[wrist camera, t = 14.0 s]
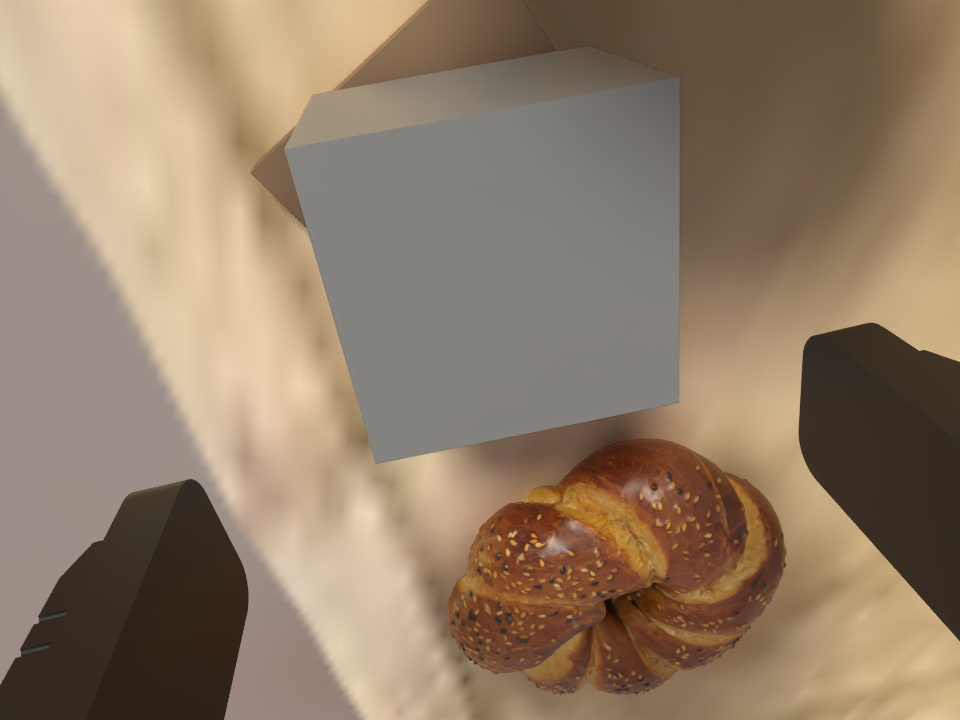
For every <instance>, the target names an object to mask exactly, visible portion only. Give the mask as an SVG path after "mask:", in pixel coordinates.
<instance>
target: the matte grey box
mask: <svg viewBox="0 0 960 720" xmlns="http://www.w3.org/2000/svg"><path fill="white" fill-rule="evenodd" d="M284 150H285V154H286V157H287V160H288V164H289V167H290V171H291V174H292V178H293V181H294V185H295V188H296V191H297V195H298V198H299V202H300V205H301V209H302V212H303V215H304V219H305V222H306V226H307V229H308V233H309V236H310V239H311V243H312V246H313V250H314V253H315V257H316V260H317V264H318V267H319V270H320V274H321V277H322V281H323V284H324V288H325V291H326V294H327V298H328V301H329V305H330V308H331V312H332V315H333V319H334V322H335V325H336V329H337V332H338V336H339V339H340V343H341V346H342V349H343V353H344V356H345V360H346V363H347V367H348V370H349V374H350V377H351V380H352V384H353V387H354V391H355V394H356V398H357V401H358V404H359V408H360V411H361V415H362V418H363V422H364V425H365V429H366V432H367V435H368V439H369V442H370V446H371V449H372V453H373V456H374V459H375V463H376V464H379V463H384V462H389V461H394V460H399V459H404V458H408V457H413V456H418V455H423V454H428V453H433V452H438V451H443V450H448V449H453V448H458V447H463V446H468V445H473V444H478V443H483V442H488V441H493V440H498V439H503V438H508V437H513V436H517V435H522V434H527V433H532V432H537V431H542V430H547V429H552V428H557V427H562V426H567V425H572V424H577V423H582V422H587V421H592V420H597V419H602V418H607V417H612V416H617V415H621V414H626V413H631V412H636V411H641V410H646V409H651V408H656V407H661V406H666V405H671V404H676V403H679V230H680V77H679V76H676V75H673V74H670V73H667V72H664V71H661V70H658V69H655V68H652V67H649V66H646V65H643V64H640V63H637V62H634V61H631V60H628V59H625V58H622V57H619V56H616V55H613V54H610V53H607V52H605V51H602V50H599V49H596V48H593V47H590V46H583V47H577V48H572V49H566V50H560V51H555V52H549V53H544V54H538V55H532V56H527V57H521V58H515V59H510V60H504V61H499V62H493V63H487V64H482V65H476V66H471V67H465V68H459V69H454V70H448V71H443V72H437V73H431V74H426V75H420V76H414V77H409V78H403V79H398V80H392V81H386V82H381V83H375V84H370V85H364V86H358V87H353V88H347V89H342V90H336V91H330V92H325V93H319V94H313V95H312V97H311V99H310V100H309V102H308V104H307V106H306V108H305V110H304V112H303V114H302V116H301V118H300V120H299V121H298V123H297V125H296V127H295V129H294V131H293V133H292V135H291V137H290V139H289V141H288V142H287V144H286V146H285V148H284Z"/></svg>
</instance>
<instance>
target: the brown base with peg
mask: <svg viewBox="0 0 960 720" xmlns="http://www.w3.org/2000/svg"><path fill="white" fill-rule="evenodd" d="M555 51H556V50H555V48H554V47H553V45H552V44H551V42H550V41H549V39H548V38H547V36H546V35H545V33H544V32H543V30H542V29H541V27H540V26H539V25H538V23H537V22H536V20H535V19H534V17H533V16H532V14H531V13H530V11H529V10H528V8H527V7H526V5H525V4H524V2H523V1H522V0H428V1H427V2H426V3H425V4H424V5H423V6H422V7H421V8H420V9H419V10H418V11H417V12H416V13H415V14H414V15H413V16H412V17H410V18H409V19H408V20H407V21H406V22H405V23H404V24H403V25H402V26H401V27H400V28H399V29H398V30H397V31H396V32H395V33H394V34H392V35H391V36H390V37H389V38H388V39H387V40H386V41H385V42H384V43H383V44H382V45H381V46H380V47H379V48H378V49H377V50H376V51H374V52H373V53H372V54H371V55H370V56H369V57H368V58H367V59H366V60H365V61H364V62H363V63H362V64H361V65H360V66H359V67H357V68H356V69H355V70H354V71H353V72H352V73H351V74H350V75H349V76H348V77H347V78H346V79H345V80H344V81H343V82H342V83H341V84H339V85H338V86H337V87H336V88H335V89H334V90H333V91H336V90H342V89H347V88H353V87H358V86H364V85H370V84H375V83H381V82H386V81H392V80H398V79H403V78H409V77H414V76H420V75H426V74H431V73H437V72H443V71H448V70H454V69H459V68H465V67H471V66H476V65H482V64H487V63H493V62H499V61H504V60H510V59H515V58H521V57H527V56H532V55H538V54H544V53H549V52H555ZM295 127H296V126H295ZM295 127H294V128H293V129H292V130H291V131H290V132H289V133H288V134H287V135H285V136H284V137H283V138H282V139H281V140H280V141H279V142H278V143H277V144H276V145H275V146H274V147H273V148H272V149H271V150H270V151H269V152H267V153H266V154H265V155H264V156H263V157H262V158H261V159H260V160H259V161H258V162H257V163H256V165H255V166H254V168H253V170H252V171H251V174H252V175H253V176H254V177H255V178H256V179H257V180H258V181H259V182H260V183H261V184H262V185H263V186H264V187H265V188H266V189H267V190H269V191H270V192H271V193H272V194H273V195H274V196H275V197H276V198H277V199H278V200H279V201H280V202H281V203H282V204H283V205H284V206H285V207H286V208H287V209H288V210H289V211H290V212H291V213H292V214H293V215H294V216H295V217H296V218H297V219H298V220H299V221H300V222H301V223H302V224H303V225H304V226H305V227H306V228H307V226H306V222H305V219H304V215H303V212H302V209H301V205H300V202H299V198H298V195H297V191H296V188H295V185H294V181H293V178H292V174H291V171H290V167H289V164H288V160H287V157H286V154H285V150H284V148H285V146H286V144H287V142H288V141H289V139H290V137H291V135H292V133H293V131H294V129H295Z"/></svg>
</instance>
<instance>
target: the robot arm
mask: <svg viewBox="0 0 960 720" xmlns="http://www.w3.org/2000/svg"><path fill="white" fill-rule="evenodd" d="M799 442H800V447H801V451H802V454H803V457H804V460H805V462H806V464H807V466H808V468H809V470H810V472H811V473H812V475H813V476H814V478H815V479H816V480H817V481H818V483H819V484H820V485H821V486H822V487H823V488H824V489H825V490H826V491H827V493H828V494H829V495H830V496H831V497H832V498H833V499H834V500H835V502H836V503H837V504H838V505H839V506H840V507H841V508H842V509H843V511H844V512H845V513H846V514H847V515H848V516H849V517H850V518H851V520H852V521H853V522H854V523H855V524H856V525H857V526H858V527H859V529H860V530H861V531H862V532H863V533H864V534H865V535H866V536H867V538H868V539H869V540H870V541H871V542H872V543H873V544H874V545H875V546H876V548H877V549H878V550H879V551H880V552H881V553H882V554H883V555H884V557H885V558H886V559H887V560H888V561H889V562H890V563H891V564H892V566H893V567H894V568H895V569H896V570H897V571H898V572H899V573H900V575H901V576H902V577H903V578H904V579H905V580H906V581H907V582H908V584H909V585H910V586H911V587H912V588H913V589H914V590H915V591H916V593H917V594H918V595H919V596H920V597H921V598H922V599H923V600H924V601H925V603H926V604H927V605H928V606H929V607H930V608H931V609H932V610H933V612H934V613H935V614H936V615H937V616H938V617H939V618H940V619H941V621H942V622H943V623H944V624H945V625H946V626H947V627H948V628H949V630H950V631H951V632H952V633H953V634H954V635H955V636H956V637H957V639H958V640H959V641H960V362H958V361H955V360H952V359H949V358H946V357H943V356H940V355H938V354H935V353H932V352H929V351H926V350H923V351H918V350H917V349H915V348H914V347H912V346H911V345H909V344H908V343H906V342H905V341H903V340H902V339H900V338H899V337H897V336H896V335H894V334H893V333H891V332H890V331H888V330H887V329H885V328H884V327H882V326H880V325H879V324H876V323H866V324H862V325H857V326H853V327H849V328H844V329H840V330H836V331H832V332H827V333H823V334H819V335H815V336H812V337H810V338H809V339H808V340H807V342H806V344H805V346H804V350H803V362H802V380H801V398H800V416H799ZM247 611H248V585H247V579H246V574H245V571H244V568H243V565H242V563H241V560H240V558H239V556H238V554H237V552H236V550H235V549H234V547H233V545H232V543H231V541H230V539H229V537H228V535H227V533H226V531H225V529H224V527H223V525H222V523H221V521H220V519H219V517H218V515H217V514H216V512H215V510H214V508H213V506H212V504H211V502H210V500H209V498H208V496H207V494H206V492H205V490H204V489H203V487H202V486H201V485H200V484H199V483H198V482H197V481H195V480H192V479H189V480H185V481H180V482H176V483H171V484H167V485H163V486H159V487H154V488H150V489H146V490H141V491H137V492H133V493H131V494H129V495H128V496H127V497H126V498H125V499H124V501H123V503H122V505H121V507H120V509H119V511H118V513H117V515H116V516H115V518H114V521H113V522H112V524H111V526H110V528H109V530H108V532H107V534H106V536H105V538H104V540H103V541H98V542H94V543H93V544H92V545H91V546H90V547H89V548H88V549H87V550H86V551H85V552H84V553H83V554H82V555H81V556H80V557H79V558H78V559H77V561H76V562H75V563H74V564H73V565H72V566H71V567H70V568H69V569H68V570H67V571H66V572H65V573H64V574H63V575H62V576H61V577H60V579H59V580H58V582H57V584H56V585H55V587H54V589H53V591H52V593H51V594H50V596H49V598H48V600H47V602H46V604H45V605H44V607H43V609H42V611H41V613H40V614H39V616H38V617H39V623H38V624H34V625H33V627H32V629H31V631H30V633H29V634H28V636H27V638H26V640H25V642H24V643H23V645H22V647H21V649H20V650H21V657H18V658H15V660H14V661H13V663H12V665H11V667H10V669H9V671H8V672H7V674H6V676H5V678H4V680H3V681H2V683H1V685H0V720H224V717H225V712H226V707H227V703H228V698H229V694H230V689H231V684H232V680H233V675H234V671H235V667H236V662H237V657H238V653H239V648H240V643H241V639H242V634H243V630H244V625H245V620H246V616H247Z"/></svg>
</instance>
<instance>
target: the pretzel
mask: <svg viewBox="0 0 960 720" xmlns="http://www.w3.org/2000/svg"><path fill="white" fill-rule="evenodd" d="M479 531H480V532H479V533H478V535H477V537H476V539H475V541H474V543H473V545H472V547H471V549H470V554H469V567H468V570H467V574H466V575H465V576H463V577H462V578H461V579H459V580H458V582H457V584H456V586H455V587H454V589H453V592H452V595H451V597H450V598H449V601H448V624H449V629H450V632H451V636H452V637H453V638H455V640H456V643H457V644H458V646H459V648H460V649H461V650H463V652H464V655H465V656H466V657H467V658H468V659H469V660H470V661H472V660H473V662H474V664H478V665H479V666H480V667H481V668H483V669H488V670H490V671H492V672H493V673H495V674H497V673H510V672H517V671H522V672H523V673H524V674H525V675H526V676H527V678H528V680H529V681H530V682H534V683H535V685H536V686H537V687H538V688H542V689H543V690H544V691H551V692H552V693H553V694H559V695H561V694H567V693H574V692H575V691H576V690H579V689H580V688H581V687H583V685H584V684H585V683H587V682H589V683H590V684H591V685H592V686H593V687H594V688H595V689H596V690H598V691H604V692H607V693H612V694H631V693H635V694H638V693H644V692H645V691H647V692H648V691H649V689H650V688H652V689H653V688H656V687H658V686H660V685H661V684H663V682H664V681H665V680H668V679H669V678H670V677H671V676H672V675H673V674H674V673H675V672H676V671H677V670H678V669H681V670H691V669H694V668H696V667H699V666H705V665H706V664H708V663H710V662H712V661H713V660H714V659H715V658H718V657H721V656H722V654H723V653H724V652H726V651H727V650H728V649H731V648H734V647H735V643H736V642H737V641H739V640H740V639H741V638H742V637H743V634H744V633H745V632H747V631H748V629H750V625H751V624H752V622H753V621H754V620H755V619H756V618H757V617H758V616H760V615H761V614H762V612H763V611H764V608H765V607H766V605H767V604H769V603H770V601H771V599H772V596H773V594H774V592H775V590H776V588H777V586H778V584H779V582H780V579H781V576H782V574H783V568H785V567H786V563H785V561H784V560H785V555H786V549H785V546H784V538H783V533H782V529H781V526H780V522H779V519H778V517H777V515H776V513H775V511H774V509H773V507H772V506H771V504H770V503H769V501H768V500H767V499H766V497H765V496H764V495H763V494H762V493H761V492H760V491H759V490H758V489H756V488H755V487H754V486H752V485H751V484H750V483H749V482H748V481H747V479H741V478H739V477H737V476H734V475H731V474H728V473H725V472H722V471H721V470H720V469H719V468H718V467H717V466H716V465H715V464H714V463H712V462H711V461H709V460H708V459H706V458H705V457H703V456H701V455H699V454H697V453H695V452H694V451H692V450H690V449H688V448H686V447H684V446H682V445H680V444H677V443H674V442H670V441H665V440H660V439H637V440H630V441H624V442H618V443H616V444H614V445H611V446H609V447H606V448H604V449H602V450H600V451H598V452H596V453H594V454H592V455H591V456H589V457H588V458H586V459H585V460H583V461H582V462H581V463H580V464H578V465H577V466H576V467H575V468H574V469H573V470H572V471H571V472H570V473H569V474H568V475H567V476H566V477H565V478H564V479H563V480H562V481H561V482H560V484H559V485H558V486H557V487H554V486H544V487H538V488H535V489H534V490H533V491H531V493H530V494H529V496H528V497H527V498H526V500H525V502H524V503H522V502H517V503H509V504H508V505H506V506H504V507H503V508H501V509H500V510H499V511H498V512H496V513H495V514H494V515H493V516H492V517H491V518H490V519H489V520H488V521H487V522H486V523H485V524H483V525H482V526H481V528H480V529H479Z"/></svg>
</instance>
